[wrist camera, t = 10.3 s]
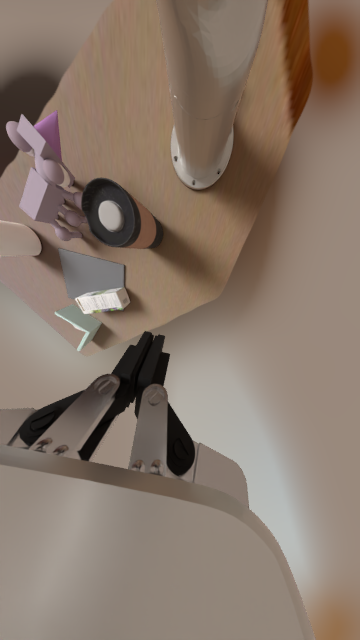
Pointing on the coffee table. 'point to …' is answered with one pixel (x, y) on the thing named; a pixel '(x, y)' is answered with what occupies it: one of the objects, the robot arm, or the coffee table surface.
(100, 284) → the mat
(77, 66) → the coffee table surface
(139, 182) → the coffee table surface
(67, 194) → the lavender lumpy figurine
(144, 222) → the travel mug
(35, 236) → the beverage can
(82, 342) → the right angle wall
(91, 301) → the syrup box
